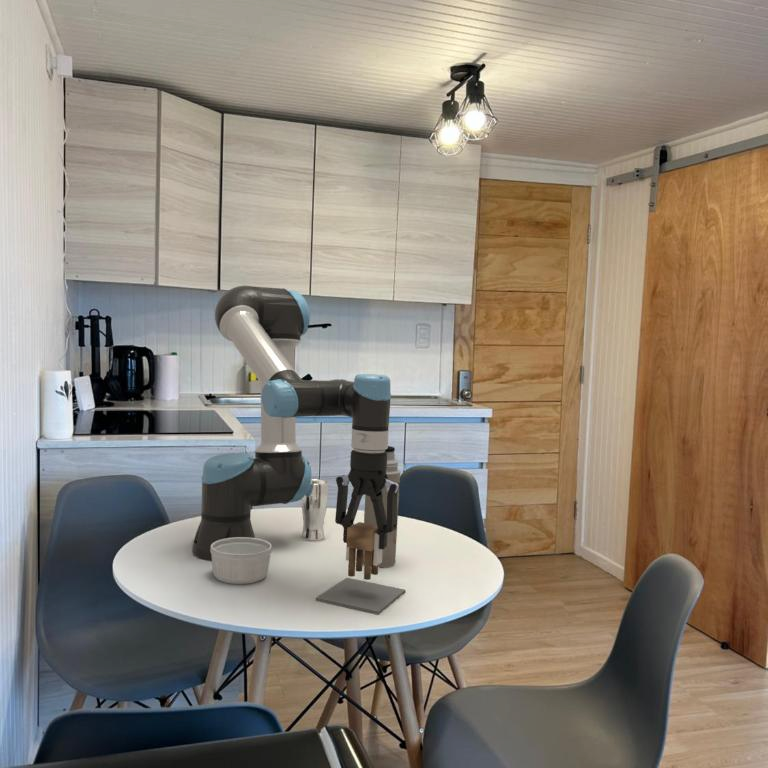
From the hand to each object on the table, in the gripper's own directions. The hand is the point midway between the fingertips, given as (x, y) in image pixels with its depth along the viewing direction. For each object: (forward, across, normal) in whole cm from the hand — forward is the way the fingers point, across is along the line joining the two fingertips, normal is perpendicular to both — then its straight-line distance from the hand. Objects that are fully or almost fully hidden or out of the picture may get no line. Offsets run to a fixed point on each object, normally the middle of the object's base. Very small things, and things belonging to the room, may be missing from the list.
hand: (363, 561), depth 148 cm
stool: (+3, 0, 0) cm, 3 cm away
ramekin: (+8, -28, -3) cm, 29 cm away
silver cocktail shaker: (+7, -29, +31) cm, 43 cm away
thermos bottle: (+8, -6, +22) cm, 24 cm away
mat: (+8, 0, 0) cm, 8 cm away
